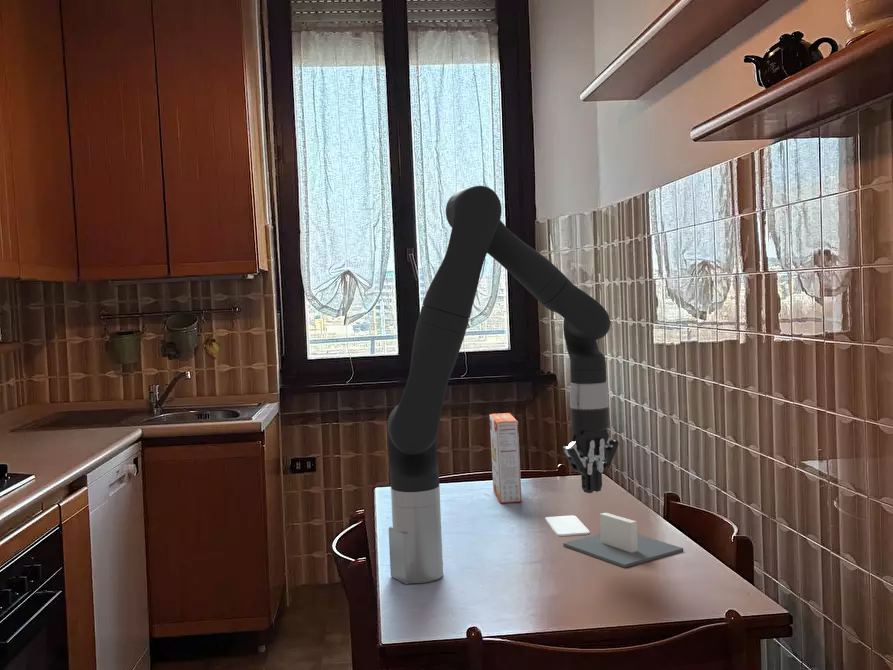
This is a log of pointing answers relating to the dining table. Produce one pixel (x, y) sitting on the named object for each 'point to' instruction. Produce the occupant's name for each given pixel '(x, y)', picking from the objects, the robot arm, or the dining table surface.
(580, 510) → the dining table surface
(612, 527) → the card box
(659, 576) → the dining table surface
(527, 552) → the dining table surface
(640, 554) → the mat
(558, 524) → the smartphone
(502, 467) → the cracker box
